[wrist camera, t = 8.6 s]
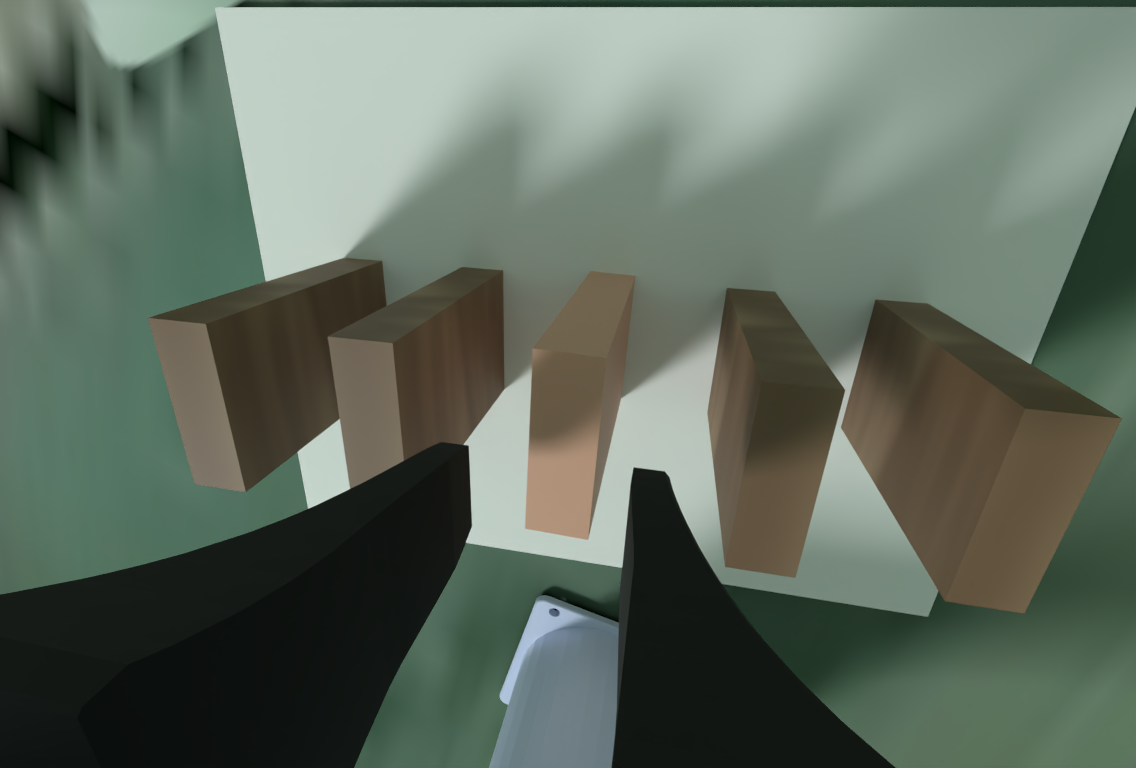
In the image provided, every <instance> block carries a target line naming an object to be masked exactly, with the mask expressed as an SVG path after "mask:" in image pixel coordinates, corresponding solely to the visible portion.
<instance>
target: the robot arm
mask: <svg viewBox="0 0 1136 768" xmlns="http://www.w3.org/2000/svg"><path fill="white" fill-rule="evenodd" d="M471 528H472V513H471V488H470V463H469V446H468V445H460V444H453V443H445V442H440V443H438V444H435V445H433V446H431V447H429V448H427V449H425V450H423V451H421V452H419V453H417V454H415V455H414V456H412V457H410V458H408V459H406V460H404V461H402V462H401V463H399V464H397V465H395V466H393V467H391V468H389V469H388V470H386V471H384V472H382V473H380V474H378V475H376V476H374V477H373V478H371V479H369V480H367V481H365V482H363V483H361V484H359V485H357V486H355V487H353V488H351V489H349V490H347V491H345V492H343V493H341V494H339V495H337V496H334V497H332V498H330V499H328V500H326V501H324V502H322V503H320V504H318V505H316V506H314V507H311V508H309V509H307V510H305V511H302V512H300V513H298V514H295V515H293V516H291V517H288V518H286V519H283V520H281V521H278V522H275V523H273V524H270V525H268V526H265V527H263V528H260V529H257V530H255V531H252V532H249V533H246V534H243V535H240V536H237V537H234V538H231V539H228V540H225V541H222V542H219V543H215V544H212V545H209V546H206V547H203V548H200V549H197V550H194V551H191V552H188V553H184V554H181V555H177V556H174V557H170V558H166V559H162V560H159V561H155V562H151V563H148V564H144V565H140V566H136V567H132V568H127V569H123V570H119V571H115V572H111V573H107V574H102V575H98V576H93V577H89V578H84V579H79V580H74V581H69V582H64V583H59V584H54V585H49V586H43V587H38V588H33V589H28V590H23V591H18V592H13V593H7V594H1V595H0V768H354V766H355V764H356V762H357V759H358V757H359V755H360V752H361V750H362V747H363V745H364V743H365V740H366V738H367V736H368V734H369V731H370V729H371V727H372V725H373V722H374V720H375V718H376V716H377V713H378V711H379V709H380V707H381V704H382V702H383V700H384V698H385V695H386V693H387V691H388V689H389V687H390V685H391V683H392V681H393V679H394V677H395V675H396V673H397V671H398V669H399V667H400V665H401V663H402V662H403V660H404V658H405V656H406V655H407V653H408V651H409V649H410V648H411V646H412V644H413V642H414V641H415V639H416V637H417V635H418V634H419V632H420V630H421V628H422V627H423V625H424V623H425V621H426V619H427V618H428V616H429V614H430V612H431V611H432V609H433V607H434V605H435V604H436V602H437V600H438V598H439V597H440V595H441V593H442V591H443V589H444V588H445V586H446V584H447V582H448V581H449V579H450V577H451V575H452V573H453V571H454V570H455V568H456V565H457V563H458V560H459V558H460V556H461V553H462V551H463V548H464V546H465V543H466V541H467V538H468V535H469V533H470V530H471ZM552 608H555V609H557V610H558V611H557V610H554V609H552ZM500 699H501V701H502V702H503V703H505V704H507V705H508V708H507V711H506V714H505V717H504V721H503V724H502V727H501V730H500V734H499V737H498V740H497V743H496V747H495V750H494V753H493V756H492V760H491V763H490V766H489V768H895V767H894V766H893V765H892V764H890V763H889V762H888V761H887V760H886V759H885V758H884V757H882V756H881V755H880V754H879V753H878V752H877V751H875V750H874V749H873V748H872V747H871V746H870V745H868V744H867V743H866V742H865V741H864V740H863V739H861V738H860V737H859V736H858V735H857V734H856V733H855V732H853V731H852V730H851V729H850V728H849V727H848V726H847V725H845V724H844V723H843V722H842V721H841V720H840V719H839V718H838V717H837V716H836V715H835V714H834V713H833V712H832V711H831V710H830V709H829V708H828V707H827V706H826V705H825V704H823V703H822V702H821V701H820V700H819V699H818V698H817V697H816V696H815V695H814V694H813V693H812V692H811V691H810V690H809V689H808V688H807V687H806V686H805V685H804V684H803V683H802V682H801V681H800V680H799V679H798V678H797V676H796V675H795V674H794V673H793V672H792V671H791V670H790V669H789V668H788V666H787V665H786V664H785V663H784V662H783V661H782V660H781V659H780V658H779V657H778V655H777V654H776V653H775V652H774V651H773V650H772V649H771V648H770V647H769V646H768V644H767V643H766V642H765V641H764V640H763V639H762V637H761V636H760V635H759V634H758V632H757V631H756V630H755V629H754V627H753V626H752V625H751V624H750V622H749V621H748V620H747V619H746V617H745V616H744V615H743V613H742V612H741V610H740V609H739V608H738V606H737V605H736V604H735V602H734V601H733V600H732V598H731V597H730V595H729V594H728V592H727V591H726V590H725V588H724V587H723V585H722V584H721V582H720V580H719V579H718V577H717V576H716V574H715V573H714V571H713V569H712V568H711V566H710V564H709V563H708V561H707V560H706V558H705V556H704V554H703V553H702V551H701V549H700V547H699V546H698V544H697V542H696V540H695V538H694V536H693V534H692V532H691V530H690V528H689V526H688V524H687V522H686V520H685V518H684V516H683V514H682V511H681V509H680V507H679V504H678V502H677V499H676V497H675V494H674V491H673V488H672V485H671V481H670V477H669V476H668V475H667V473H666V472H665V471H658V470H651V469H643V468H635V467H634V468H633V473H632V479H631V485H630V495H629V505H628V515H627V526H626V536H625V546H624V556H623V566H622V576H621V586H620V596H619V623H618V622H615V621H613V620H610V619H607V618H605V617H602V616H600V615H597V614H594V613H592V612H589V611H587V610H584V609H581V608H579V607H576V606H574V605H571V604H568V603H566V602H563V601H561V600H558V599H555V598H553V597H550V596H547V595H542V596H539V597H538V598H537V599H536V602H535V604H534V607H533V609H532V612H531V615H530V617H529V620H528V622H527V625H526V628H525V630H524V633H523V635H522V638H521V641H520V643H519V646H518V648H517V651H516V653H515V656H514V659H513V661H512V664H511V666H510V669H509V672H508V674H507V677H506V679H505V682H504V685H503V687H502V690H501V693H500Z"/></svg>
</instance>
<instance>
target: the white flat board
mask: <svg viewBox="0 0 1136 768" xmlns="http://www.w3.org/2000/svg"><path fill="white" fill-rule="evenodd" d="M215 10H216V16H217V21H218V27H219V32H220V37H221V43H222V48H223V53H224V59H225V64H226V69H227V75H228V80H229V86H230V91H231V96H232V102H233V107H234V112H235V118H236V123H237V129H238V134H239V139H240V145H241V150H242V155H243V161H244V166H245V172H246V177H247V182H248V188H249V193H250V198H251V204H252V209H253V215H254V220H255V225H256V231H257V236H258V241H259V247H260V252H261V257H262V263H263V268H264V274H265V279H266V282H267V281H270V280H273V279H276V278H280V277H283V276H286V275H290V274H293V273H296V272H299V271H303V270H306V269H309V268H312V267H316V266H319V265H322V264H325V263H329V262H332V261H335V260H338V259H342V258H352V259H365V260H378V261H382V264H383V274H384V284H385V294H386V304H387V306H388V305H390V304H391V303H393V302H395V301H397V300H399V299H401V298H403V297H405V296H407V295H409V294H411V293H413V292H415V291H417V290H418V289H420V288H422V287H424V286H426V285H428V284H430V283H432V282H434V281H436V280H438V279H440V278H442V277H444V276H446V275H447V274H449V273H451V272H453V271H455V270H457V269H459V268H461V267H468V268H481V269H494V270H503V296H504V391H503V392H502V393H501V395H500V396H499V397H498V399H497V400H496V401H495V403H494V404H493V405H492V407H491V408H490V409H489V411H488V412H487V414H486V415H485V416H484V418H483V419H482V420H481V422H480V423H479V424H478V426H477V427H476V428H475V430H474V431H473V432H472V434H471V435H470V437H469V438H468V439H467V441H466V442H465V443H464V445H468V446H469V463H470V488H471V513H472V528H471V530H470V533H469V535H468V538H467V541H466V543H471V544H477V545H483V546H490V547H496V548H502V549H508V550H515V551H521V552H527V553H533V554H539V555H546V556H552V557H558V558H564V559H571V560H577V561H583V562H589V563H595V564H602V565H608V566H614V567H620V568H622V566H623V556H624V546H625V536H626V526H627V515H628V505H629V495H630V485H631V479H632V473H633V468H634V467H635V468H643V469H651V470H658V471H665V472H666V473H667V475H668V476H669V477H670V481H671V485H672V488H673V491H674V494H675V497H676V499H677V502H678V504H679V507H680V509H681V511H682V514H683V516H684V518H685V520H686V522H687V524H688V526H689V528H690V530H691V532H692V534H693V536H694V538H695V540H696V542H697V544H698V546H699V547H700V549H701V551H702V553H703V554H704V556H705V558H706V560H707V561H708V563H709V564H710V566H711V568H712V569H713V571H714V573H715V574H716V576H717V577H718V579H719V580H720V582H721V584H726V585H732V586H739V587H745V588H751V589H757V590H763V591H770V592H776V593H782V594H788V595H795V596H801V597H807V598H813V599H820V600H826V601H832V602H838V603H844V604H851V605H857V606H863V607H869V608H876V609H882V610H888V611H894V612H900V613H907V614H913V615H919V616H925V617H928V616H929V613H930V611H931V608H932V606H933V603H934V601H935V598H936V596H937V593H938V589H937V587H936V586H935V584H934V582H933V581H932V579H931V577H930V576H929V574H928V572H927V571H926V569H925V567H924V566H923V564H922V562H921V561H920V559H919V557H918V556H917V554H916V552H915V551H914V549H913V547H912V546H911V544H910V542H909V541H908V539H907V537H906V536H905V534H904V532H903V531H902V529H901V527H900V526H899V524H898V522H897V521H896V519H895V517H894V516H893V514H892V512H891V511H890V509H889V507H888V506H887V504H886V502H885V501H884V499H883V497H882V496H881V494H880V492H879V491H878V489H877V487H876V485H875V484H874V482H873V480H872V479H871V477H870V475H869V474H868V472H867V470H866V469H865V467H864V465H863V464H862V462H861V460H860V459H859V457H858V455H857V454H856V452H855V450H854V449H853V447H852V445H851V444H850V442H849V440H848V439H847V437H846V435H845V434H844V432H843V430H842V429H841V425H842V422H843V418H844V414H845V411H846V407H847V403H848V399H849V396H850V392H851V388H852V385H853V381H854V377H855V374H856V370H857V366H858V362H859V359H860V355H861V351H862V348H863V344H864V340H865V337H866V333H867V329H868V325H869V322H870V318H871V314H872V311H873V307H874V303H875V300H876V299H877V300H889V301H902V302H915V303H928V304H930V305H931V306H933V307H935V308H936V309H938V310H940V311H941V312H943V313H945V314H946V315H948V316H950V317H952V318H953V319H955V320H957V321H958V322H960V323H962V324H963V325H965V326H967V327H968V328H970V329H972V330H973V331H975V332H977V333H979V334H980V335H982V336H984V337H985V338H987V339H989V340H990V341H992V342H994V343H995V344H997V345H999V346H1000V347H1002V348H1004V349H1005V350H1007V351H1009V352H1011V353H1012V354H1014V355H1016V356H1017V357H1019V358H1021V359H1022V360H1024V361H1026V362H1027V363H1029V364H1031V363H1032V360H1033V358H1034V355H1035V353H1036V350H1037V348H1038V345H1039V343H1040V340H1041V338H1042V336H1043V333H1044V331H1045V328H1046V326H1047V323H1048V321H1049V318H1050V316H1051V313H1052V311H1053V308H1054V306H1055V304H1056V301H1057V299H1058V296H1059V294H1060V291H1061V289H1062V286H1063V284H1064V281H1065V279H1066V277H1067V274H1068V272H1069V269H1070V267H1071V264H1072V262H1073V259H1074V257H1075V254H1076V252H1077V250H1078V247H1079V245H1080V242H1081V240H1082V237H1083V235H1084V232H1085V230H1086V227H1087V225H1088V223H1089V220H1090V218H1091V215H1092V213H1093V210H1094V208H1095V205H1096V203H1097V200H1098V198H1099V195H1100V193H1101V191H1102V188H1103V186H1104V183H1105V181H1106V178H1107V176H1108V173H1109V171H1110V168H1111V166H1112V164H1113V161H1114V159H1115V156H1116V154H1117V151H1118V149H1119V146H1120V144H1121V141H1122V139H1123V137H1124V134H1125V132H1126V129H1127V127H1128V124H1129V122H1130V119H1131V117H1132V114H1133V112H1134V110H1135V107H1136V7H221V8H220V7H217V8H216V7H215ZM590 271H595V272H604V273H613V274H623V275H632V276H635V284H634V293H633V301H632V310H631V318H630V327H629V335H628V344H627V352H626V361H625V369H624V378H623V386H622V395H621V401H620V405H619V410H618V414H617V418H616V422H615V427H614V431H613V435H612V440H611V444H610V448H609V452H608V457H607V461H606V465H605V470H604V474H603V478H602V482H601V487H600V491H599V495H598V500H597V504H596V508H595V512H594V517H593V521H592V525H591V530H590V534H589V538H588V540H585V539H580V538H574V537H569V536H563V535H557V534H552V533H546V532H541V531H535V530H529V529H525V517H526V494H527V471H528V448H529V425H530V401H531V378H532V355H533V347H534V346H535V345H536V343H537V342H538V341H539V339H540V338H541V337H542V335H543V334H544V333H545V331H546V330H547V329H548V327H549V326H550V325H551V323H552V322H553V321H554V319H555V318H556V317H557V315H558V314H559V313H560V311H561V310H562V309H563V307H564V306H565V305H566V303H567V302H568V301H569V299H570V298H571V297H572V295H573V294H574V293H575V291H576V290H577V289H578V287H579V286H580V285H581V283H582V282H583V281H584V279H585V278H586V277H587V275H588V274H589V273H590ZM727 288H735V289H748V290H761V291H774V292H776V294H777V295H778V296H779V298H780V299H781V301H782V302H783V303H784V305H785V306H786V308H787V309H788V310H789V312H790V313H791V315H792V316H793V317H794V319H795V320H796V322H797V323H798V324H799V326H800V327H801V329H802V330H803V331H804V333H805V334H806V336H807V337H808V338H809V340H810V341H811V343H812V344H813V345H814V347H815V348H816V350H817V351H818V352H819V354H820V355H821V357H822V358H823V359H824V361H825V362H826V364H827V365H828V366H829V368H830V369H831V371H832V372H833V373H834V375H835V376H836V378H837V379H838V380H839V382H840V383H841V385H842V386H843V387H844V389H845V393H844V397H843V401H842V405H841V408H840V412H839V416H838V420H837V424H836V427H835V431H834V435H833V439H832V442H831V446H830V450H829V454H828V457H827V461H826V465H825V469H824V472H823V476H822V480H821V484H820V487H819V491H818V495H817V499H816V503H815V506H814V510H813V514H812V518H811V521H810V525H809V529H808V533H807V536H806V540H805V544H804V548H803V551H802V555H801V559H800V563H799V567H798V570H797V574H796V578H792V577H786V576H779V575H773V574H767V573H760V572H754V571H747V570H741V569H734V568H728V567H725V563H724V554H723V546H722V537H721V528H720V519H719V511H718V502H717V493H716V484H715V476H714V467H713V458H712V450H711V441H710V432H709V423H708V415H707V411H708V405H709V398H710V392H711V385H712V379H713V373H714V366H715V360H716V354H717V347H718V341H719V335H720V328H721V322H722V315H723V309H724V303H725V296H726V290H727ZM298 456H299V462H300V467H301V472H302V478H303V483H304V488H305V494H306V499H307V505H308V509H309V508H311V507H314V506H316V505H318V504H320V503H322V502H324V501H326V500H328V499H330V498H332V497H334V496H337V495H339V494H341V493H343V492H345V491H347V490H349V489H350V485H349V479H348V472H347V465H346V458H345V451H344V444H343V438H342V431H341V424H340V419H339V420H338V421H336V422H335V423H334V424H332V425H331V426H330V427H329V428H327V429H326V430H325V431H324V432H322V433H321V434H320V435H318V436H317V437H316V438H315V439H313V440H312V441H311V442H309V443H308V444H307V445H306V446H304V447H303V448H302V449H300V450H299V451H298Z"/></svg>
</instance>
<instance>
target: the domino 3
mask: <svg viewBox="0 0 1136 768" xmlns="http://www.w3.org/2000/svg"><path fill="white" fill-rule="evenodd" d="M634 284H635V276H632V275H623V274H613V273H604V272H595V271H590V273H589V274H588V275H587V277H586V278H585V279H584V281H583V282H582V283H581V285H580V286H579V287H578V289H577V290H576V291H575V293H574V294H573V295H572V297H571V298H570V299H569V301H568V302H567V303H566V305H565V306H564V307H563V309H562V310H561V311H560V313H559V314H558V315H557V317H556V318H555V319H554V321H553V322H552V323H551V325H550V326H549V327H548V329H547V330H546V331H545V333H544V334H543V335H542V337H541V338H540V339H539V341H538V342H537V343H536V345H535V346H534V347H533V355H532V378H531V401H530V425H529V448H528V471H527V494H526V517H525V529H529V530H535V531H541V532H546V533H552V534H557V535H563V536H569V537H574V538H580V539H585V540H588V538H589V534H590V530H591V525H592V521H593V517H594V512H595V508H596V504H597V500H598V495H599V491H600V487H601V482H602V478H603V474H604V470H605V465H606V461H607V457H608V452H609V448H610V444H611V440H612V435H613V431H614V427H615V422H616V418H617V414H618V410H619V405H620V401H621V395H622V386H623V378H624V369H625V361H626V352H627V344H628V335H629V327H630V318H631V310H632V301H633V293H634Z"/></svg>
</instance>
